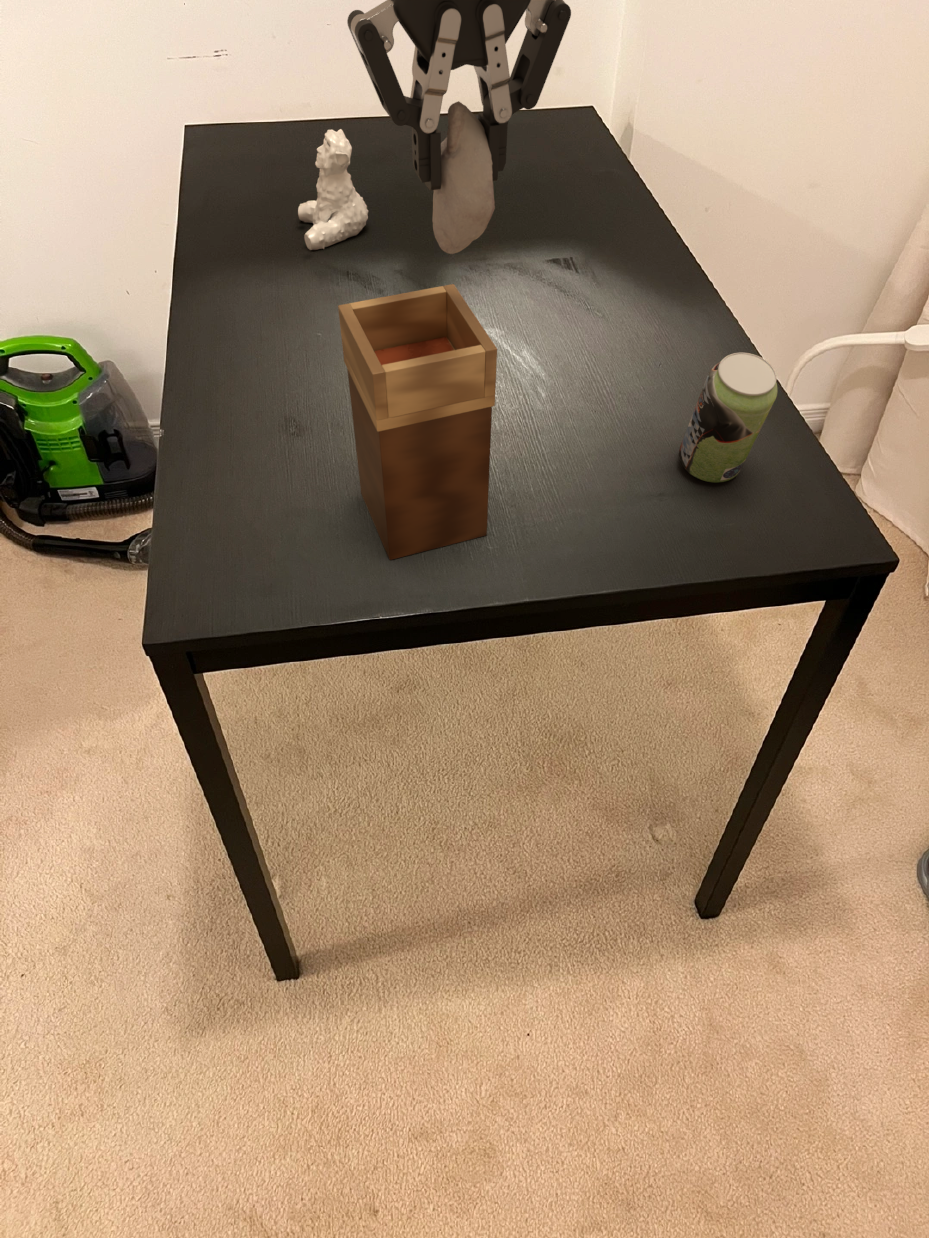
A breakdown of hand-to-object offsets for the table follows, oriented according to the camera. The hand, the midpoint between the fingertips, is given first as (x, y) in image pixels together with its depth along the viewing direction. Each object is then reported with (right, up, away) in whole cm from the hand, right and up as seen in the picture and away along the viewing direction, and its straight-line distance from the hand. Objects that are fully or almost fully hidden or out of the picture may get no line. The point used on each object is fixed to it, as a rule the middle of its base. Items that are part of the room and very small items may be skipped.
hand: (459, 180), depth 59 cm
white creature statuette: (-16, +20, +53) cm, 59 cm away
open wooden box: (-3, -11, +9) cm, 15 cm away
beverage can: (+24, -16, +24) cm, 37 cm away
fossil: (0, -3, +4) cm, 5 cm away
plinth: (-3, -20, +20) cm, 29 cm away
